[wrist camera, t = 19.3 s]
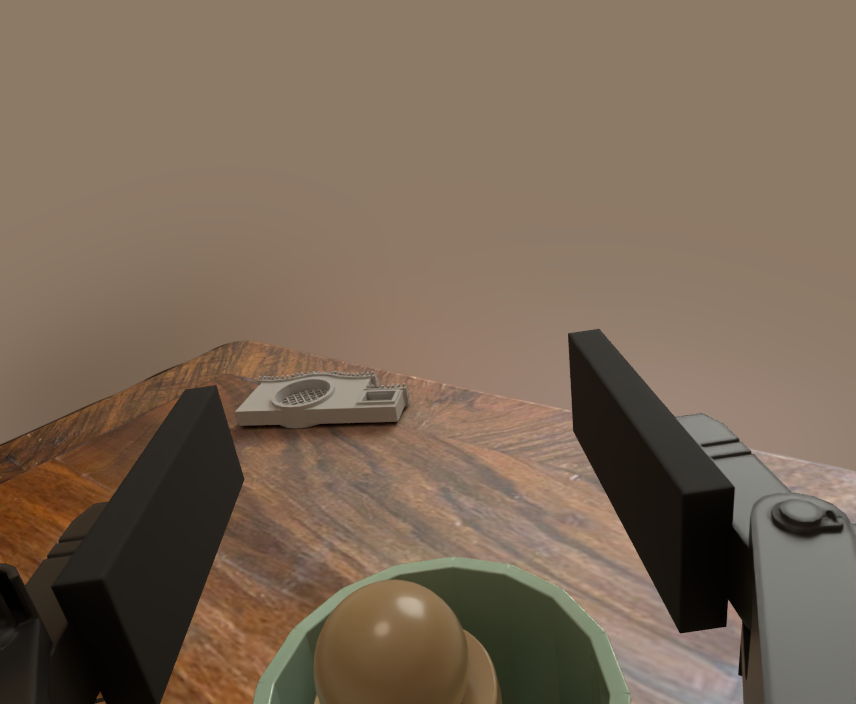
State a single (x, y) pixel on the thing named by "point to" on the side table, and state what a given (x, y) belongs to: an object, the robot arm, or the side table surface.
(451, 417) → the side table surface
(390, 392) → the lattice window wall
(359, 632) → the game piece
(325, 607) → the tumbler
